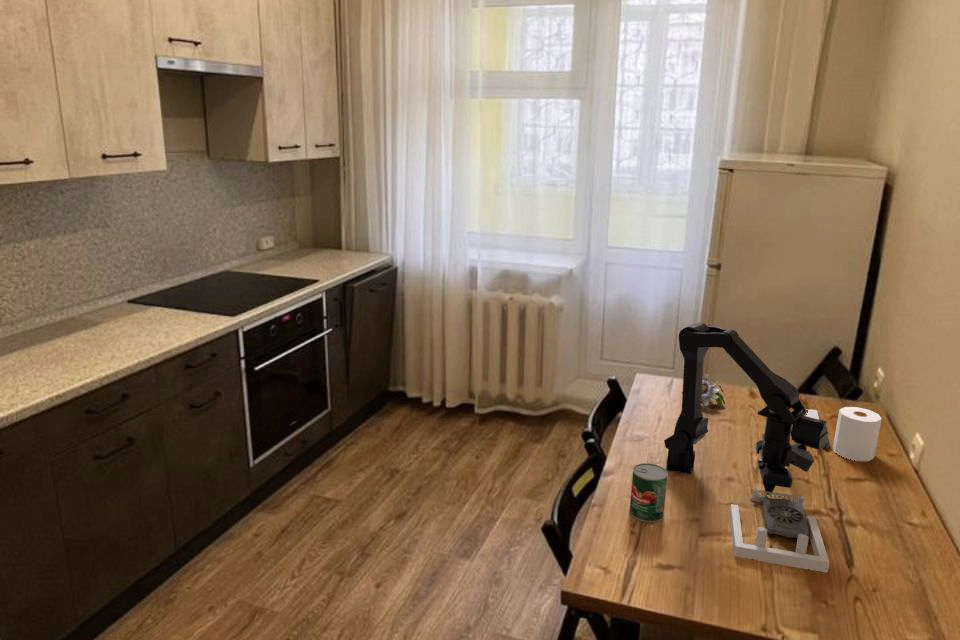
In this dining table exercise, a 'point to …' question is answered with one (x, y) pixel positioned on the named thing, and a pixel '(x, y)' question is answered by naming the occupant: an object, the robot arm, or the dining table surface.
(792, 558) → the u-shaped peg rack
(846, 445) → the toilet paper
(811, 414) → the kitchen knife
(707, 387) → the passion flower
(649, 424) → the dining table surface
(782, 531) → the graphics card
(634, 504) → the canned tomato
